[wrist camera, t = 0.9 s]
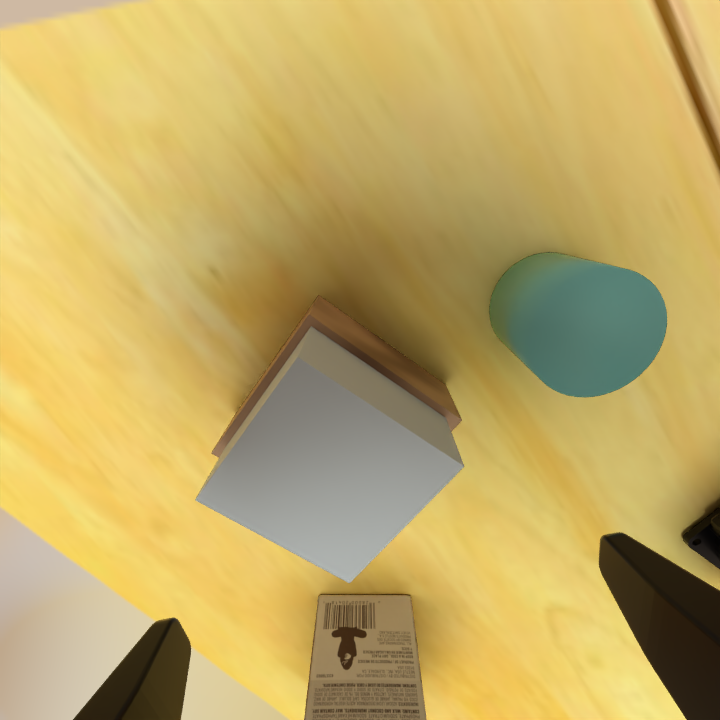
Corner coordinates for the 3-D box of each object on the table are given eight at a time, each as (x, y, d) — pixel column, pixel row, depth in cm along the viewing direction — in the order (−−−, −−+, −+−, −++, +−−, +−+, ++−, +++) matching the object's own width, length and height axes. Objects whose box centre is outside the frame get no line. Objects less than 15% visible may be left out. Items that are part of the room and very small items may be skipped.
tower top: (446, 417, 18) (464, 466, 14) (352, 520, 20) (349, 583, 16) (311, 325, 16) (297, 356, 13) (225, 446, 18) (195, 499, 15)
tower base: (444, 382, 21) (461, 420, 18) (355, 483, 24) (354, 535, 20) (319, 294, 20) (308, 314, 16) (237, 411, 22) (211, 453, 18)
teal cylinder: (616, 294, 19) (696, 322, 15) (541, 372, 21) (592, 419, 16) (541, 229, 18) (602, 237, 14) (467, 316, 20) (499, 349, 15)
